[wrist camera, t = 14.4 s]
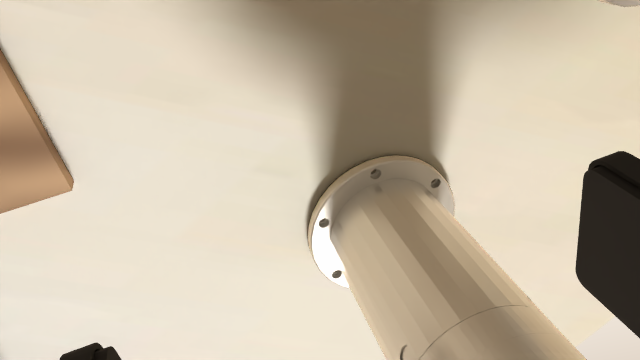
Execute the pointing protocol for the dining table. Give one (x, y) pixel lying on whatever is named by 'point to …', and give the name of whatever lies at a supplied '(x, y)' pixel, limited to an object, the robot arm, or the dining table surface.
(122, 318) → the dining table surface
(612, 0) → the lantern
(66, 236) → the dining table surface
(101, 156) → the dining table surface
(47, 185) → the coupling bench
